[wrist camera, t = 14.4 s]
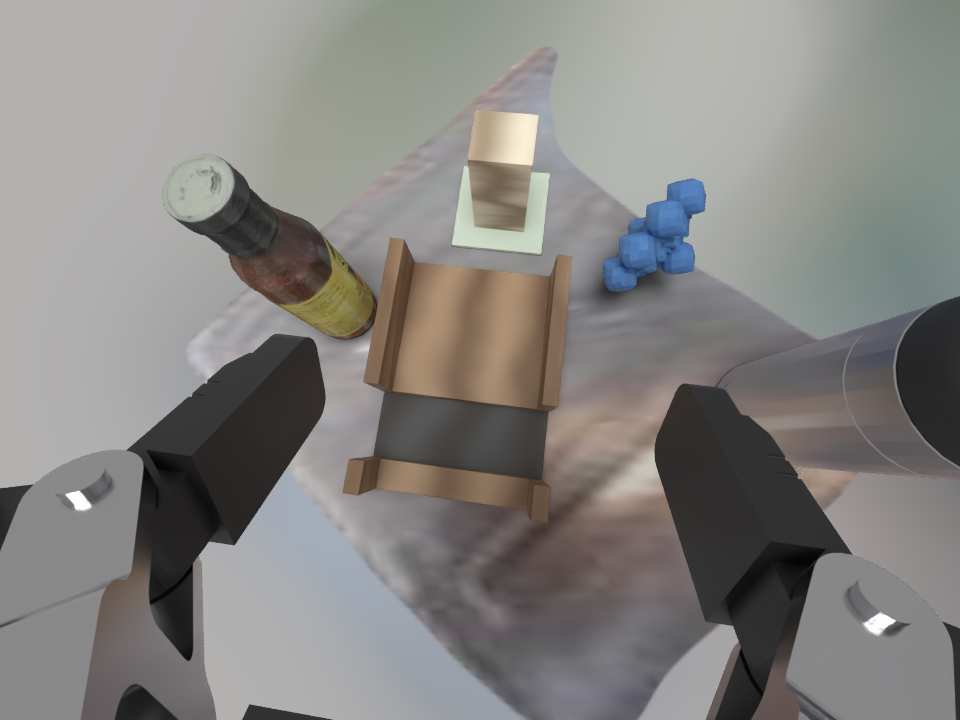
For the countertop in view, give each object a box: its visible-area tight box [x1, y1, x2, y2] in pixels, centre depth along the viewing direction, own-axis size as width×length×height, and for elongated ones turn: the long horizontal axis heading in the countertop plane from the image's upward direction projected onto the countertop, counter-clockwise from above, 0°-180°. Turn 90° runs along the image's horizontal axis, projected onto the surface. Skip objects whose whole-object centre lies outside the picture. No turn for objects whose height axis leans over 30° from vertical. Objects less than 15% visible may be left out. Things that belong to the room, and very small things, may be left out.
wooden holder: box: [343, 238, 572, 523], centre depth 35 cm, size 15×21×6 cm
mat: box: [452, 166, 550, 256], centre depth 41 cm, size 9×9×1 cm
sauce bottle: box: [162, 154, 377, 339], centre depth 30 cm, size 6×6×20 cm
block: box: [468, 110, 539, 232], centre depth 36 cm, size 5×4×10 cm
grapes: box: [603, 179, 706, 292], centre depth 34 cm, size 12×7×12 cm, turn 137°
